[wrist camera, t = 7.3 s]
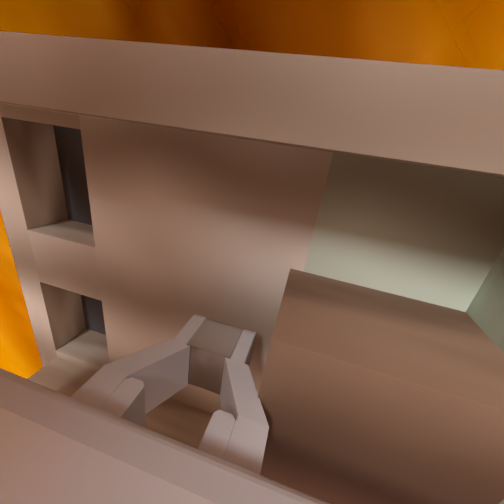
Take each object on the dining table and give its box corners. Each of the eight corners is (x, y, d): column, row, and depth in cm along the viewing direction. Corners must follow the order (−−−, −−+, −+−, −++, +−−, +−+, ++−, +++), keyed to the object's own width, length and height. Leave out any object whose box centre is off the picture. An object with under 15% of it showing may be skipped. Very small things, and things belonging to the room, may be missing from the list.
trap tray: (26, 74, 12) (-181, 16, 7) (561, 136, 8) (950, 105, 3) (76, 341, 19) (-12, 407, 14) (381, 447, 15) (411, 596, 10)
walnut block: (290, 268, 9) (271, 338, 6) (465, 311, 8) (576, 431, 5) (263, 379, 12) (238, 478, 8) (397, 424, 11) (436, 561, 7)
